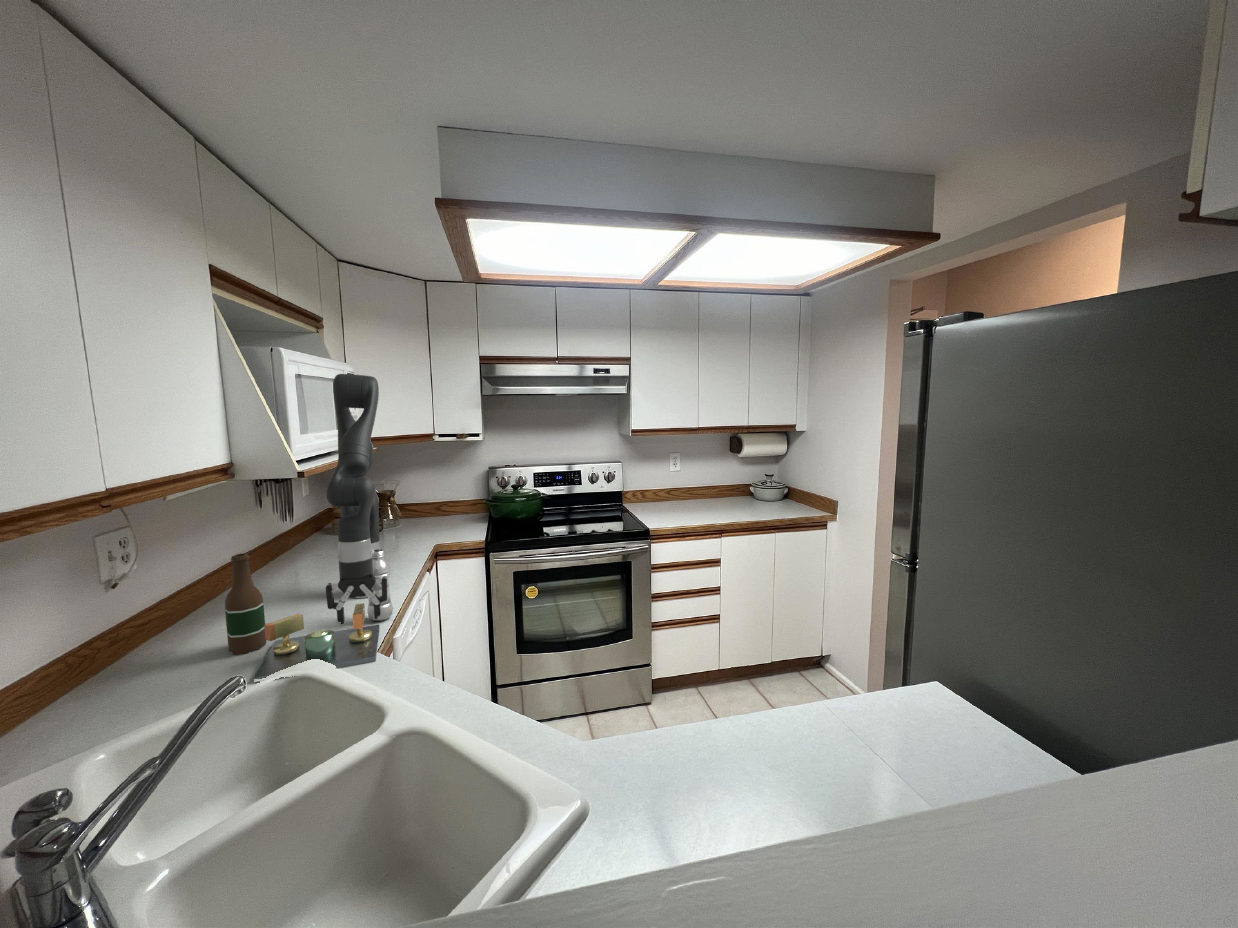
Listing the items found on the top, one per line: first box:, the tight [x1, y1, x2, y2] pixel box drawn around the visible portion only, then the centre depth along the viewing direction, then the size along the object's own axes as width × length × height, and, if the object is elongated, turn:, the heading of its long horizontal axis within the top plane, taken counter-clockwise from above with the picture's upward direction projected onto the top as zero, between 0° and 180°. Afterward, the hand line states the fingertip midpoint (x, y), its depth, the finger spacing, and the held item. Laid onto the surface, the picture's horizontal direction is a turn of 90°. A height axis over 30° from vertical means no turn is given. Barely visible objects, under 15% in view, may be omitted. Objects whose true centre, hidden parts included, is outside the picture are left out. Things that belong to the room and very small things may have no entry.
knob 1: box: [264, 613, 305, 655], centre depth 121 cm, size 8×5×8 cm
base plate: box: [253, 624, 381, 680], centre depth 123 cm, size 20×24×7 cm
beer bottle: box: [224, 553, 267, 655], centre depth 125 cm, size 8×8×24 cm
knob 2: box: [349, 602, 372, 642], centre depth 128 cm, size 8×5×8 cm
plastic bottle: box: [366, 548, 394, 622], centre depth 143 cm, size 6×7×20 cm
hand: (359, 620), depth 128 cm, fingers open, 7 cm apart
